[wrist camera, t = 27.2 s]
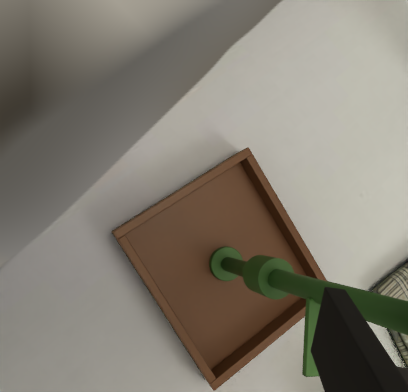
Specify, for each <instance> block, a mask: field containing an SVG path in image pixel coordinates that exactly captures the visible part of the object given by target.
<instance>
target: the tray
mask: <svg viewBox="0 0 408 392" xmlns="http://www.w3.org/2000/svg"><path fill="white" fill-rule="evenodd" d="M111 232H112V234H113V235H114V237H115V238H116V240H117V242H118V243H119V245H120V246H121V248H122V249H123V251H124V252H125V254H126V256H127V257H128V259H129V260H130V262H131V263H132V265H133V267H134V268H135V270H136V271H137V273H138V274H139V276H140V277H141V279H142V281H143V282H144V284H145V285H146V287H147V288H148V290H149V292H150V293H151V295H152V296H153V298H154V299H155V301H156V302H157V304H158V306H159V307H160V309H161V310H162V312H163V313H164V315H165V317H166V318H167V320H168V321H169V323H170V324H171V326H172V328H173V329H174V331H175V332H176V334H177V335H178V337H179V338H180V340H181V342H182V343H183V345H184V346H185V348H186V349H187V351H188V353H189V354H190V356H191V357H192V359H193V360H194V362H195V363H196V365H197V367H198V368H199V370H200V371H201V373H202V374H203V376H204V378H205V379H206V381H207V382H208V383H209V385H210V386H211V387H212V389H213V390H216V389H217V388H218V387H219V386H221V385H222V384H223V383H224V382H225V381H227V380H228V379H229V378H230V377H232V376H233V375H234V374H235V373H236V372H238V371H239V370H240V369H241V368H242V367H244V366H245V365H246V364H247V363H249V362H250V361H251V360H252V359H253V358H255V357H256V356H257V355H258V354H259V353H261V352H262V351H263V350H264V349H266V348H267V347H268V346H269V345H270V344H272V343H273V342H274V341H275V340H276V339H278V338H279V337H280V336H281V335H283V334H284V333H285V332H286V331H287V330H289V329H290V328H291V327H292V326H293V325H295V324H296V323H297V322H298V321H300V320H301V319H302V318H303V317H304V316H305V310H306V299H303V298H301V297H298V296H295V295H292V294H288V295H287V296H286V297H284V298H282V299H277V300H275V299H270V298H268V297H265V296H263V295H261V294H258V293H256V292H253V291H251V290H250V289H249V288H248V287H247V286H246V285H245V283H244V280H243V277H241V276H238V277H237V278H235V279H234V280H231V281H222V280H220V279H217V278H216V277H215V276H214V275H213V274H212V273H211V271H210V267H209V260H210V257H211V255H212V253H213V252H214V251H215V250H216V249H218V248H220V247H232V248H234V249H236V250H237V251H238V252H239V253H240V254H241V256H242V259H243V261H248V260H249V259H250V258H252V257H254V256H256V255H264V256H270V257H275V258H280V259H283V260H285V261H287V262H288V263H289V264H290V265H291V266H292V268H293V270H294V273H296V274H300V275H304V276H308V277H312V278H316V279H320V280H324V281H327V280H326V279H325V277H324V275H323V273H322V272H321V270H320V268H319V267H318V265H317V263H316V262H315V260H314V258H313V256H312V255H311V253H310V251H309V250H308V248H307V246H306V245H305V243H304V241H303V239H302V238H301V236H300V234H299V233H298V231H297V229H296V227H295V226H294V224H293V222H292V221H291V219H290V217H289V216H288V214H287V212H286V210H285V209H284V207H283V205H282V204H281V202H280V200H279V199H278V197H277V195H276V193H275V192H274V190H273V188H272V187H271V185H270V183H269V182H268V180H267V178H266V176H265V175H264V173H263V171H262V170H261V168H260V166H259V164H258V163H257V161H256V159H255V158H254V156H253V154H252V153H251V151H250V149H249V148H246V149H244V150H242V151H240V152H238V153H236V154H235V155H233V156H231V157H230V158H228V159H227V160H225V161H223V162H222V163H220V164H219V165H217V166H215V167H214V168H212V169H210V170H209V171H207V172H206V173H204V174H202V175H201V176H199V177H198V178H196V179H194V180H193V181H191V182H190V183H188V184H186V185H185V186H183V187H182V188H180V189H178V190H177V191H175V192H174V193H172V194H170V195H169V196H167V197H166V198H164V199H162V200H161V201H159V202H158V203H156V204H154V205H153V206H151V207H150V208H148V209H146V210H145V211H143V212H142V213H140V214H138V215H137V216H135V217H134V218H132V219H130V220H129V221H127V222H126V223H124V224H122V225H121V226H119V227H118V228H116V229H114V230H113V231H111Z"/></svg>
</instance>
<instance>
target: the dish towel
mask: <svg viewBox="0 0 408 392" xmlns="http://www.w3.org/2000/svg"><path fill="white" fill-rule="evenodd" d="M372 292H373V293H377V294H381V295H385V296H390V297H394V298H398V299H402V300H406V301H408V262H407V263H406V264H404V265H403V266H402V267H400V268H399V269H398V270H396V271H395V272H394V273H392V274H391V275H390V276H388V277H387V278H386V279H385V280H384V281H383V282H381V283H380V284H379V285H378V286H376V287H375V288H374V289H373V290H372ZM389 330H390V332H391V334H392V337H393V339H394V341H395V343H396V345H397V347H398V349H399V351H400V353H401V354H402V356H403V358H404V360H405V362H406V364H407V366H408V335H405V334H402V333H399V332H397V331H394V330H391V329H389Z"/></svg>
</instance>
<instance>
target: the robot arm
mask: <svg viewBox="0 0 408 392" xmlns="http://www.w3.org/2000/svg"><path fill="white" fill-rule="evenodd" d="M310 351H311V354H312V356H313V359H314V362H315V365H316V368H317V371H318V373H319V376H320V379H321V382H322V385H323V388H324V390H325V392H408V368H402V367H396V365H395V364H394V362H393V361H392V359H391V358H390V356H389V355H388V353H387V352H386V350H385V349H384V347H383V346H382V344H381V343H380V341H379V340H378V338H377V337H376V335H375V334H374V332H373V331H372V329H371V328H370V326H369V325H368V323H367V322H366V320H365V319H364V317H363V316H362V314H361V313H360V311H359V310H358V308H357V307H356V305H355V304H354V302H353V301H352V299H351V298H350V296H349V295H348V293H347V292H346V290H345V289H339V288H332V287H325V288H324V292H323V297H322V301H321V306H320V310H319V314H318V319H317V323H316V328H315V332H314V337H313V341H312V346H311V350H310Z"/></svg>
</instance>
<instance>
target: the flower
mask: <svg viewBox="0 0 408 392" xmlns="http://www.w3.org/2000/svg"><path fill="white" fill-rule="evenodd" d="M209 267H210V271H211V273H212V274H213V275H214V276H215V277H216V278H217V279H220V280H222V281H231V280H234V279H235V278H237V277H238V276H241V277H243V280H244V283H245V285H246V286H247V287H248V288H249V289H250V290H251V291H253V292H256V293H258V294H261V295H263V296H265V297H268V298H270V299H275V300H277V299H282V298H284V297H286V296H287V295H288V294H292V295H295V296H298V297H301V298H303V299H306V310H305V332H304V353H303V375H304V376H306V377H313V376H319V373H318V371H317V368H316V365H315V362H314V359H313V356H312V354H311V351H310V350H311V346H312V341H313V337H314V332H315V328H316V323H317V319H318V314H319V310H320V306H321V301H322V297H323V292H324V288H325V287H332V288H339V289H345V290H346V292H347V293H348V295H349V296H350V298H351V299H352V301H353V302H354V304H355V305H356V307H357V308H358V310H359V311H360V313H361V314H362V316H363V317H364V319H365V320H366V321H368V322H371V323H374V324H377V325H380V326H382V327H385V328H388V329H391V330H394V331H397V332H399V333H402V334H405V335H408V301H406V300H402V299H398V298H394V297H390V296H385V295H381V294H377V293H373V292H369V291H365V290H361V289H357V288H353V287H349V286H345V285H341V284H337V283H332V282H328V281H324V280H320V279H316V278H312V277H308V276H304V275H300V274H296V273H294V270H293V268H292V266H291V265H290V264H289V263H288V262H287V261H285V260H283V259H280V258H275V257H270V256H264V255H256V256H254V257H252V258H250V259H249V260H248V261H243V259H242V256H241V254H240V253H239V252H238V251H237V250H236V249H234V248H232V247H220V248H218V249H216V250H215V251H214V252H213V253H212V255H211V257H210V260H209Z"/></svg>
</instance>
